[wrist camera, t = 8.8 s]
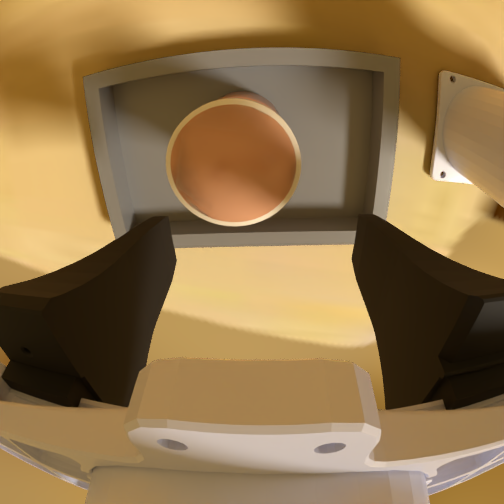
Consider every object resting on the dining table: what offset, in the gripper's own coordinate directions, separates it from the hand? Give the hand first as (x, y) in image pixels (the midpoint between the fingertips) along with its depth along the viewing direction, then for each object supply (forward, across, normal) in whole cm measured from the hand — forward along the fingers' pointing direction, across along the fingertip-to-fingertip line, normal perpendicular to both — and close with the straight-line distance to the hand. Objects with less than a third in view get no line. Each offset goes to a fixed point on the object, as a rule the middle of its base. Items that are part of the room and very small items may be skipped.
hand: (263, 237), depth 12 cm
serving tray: (+9, +1, -1) cm, 9 cm away
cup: (+9, +1, -2) cm, 9 cm away
